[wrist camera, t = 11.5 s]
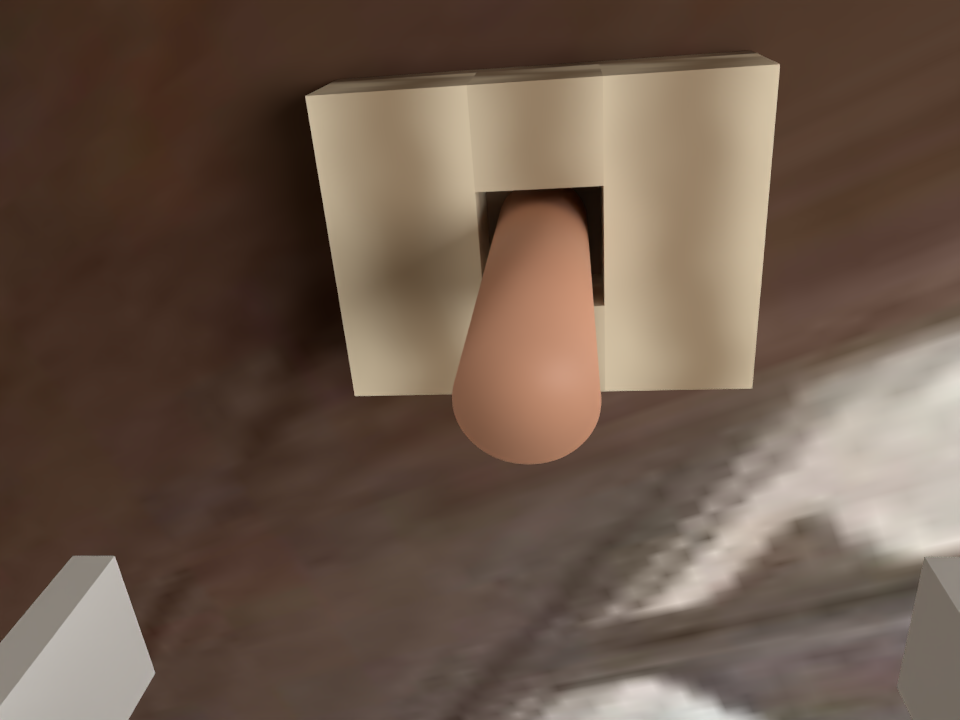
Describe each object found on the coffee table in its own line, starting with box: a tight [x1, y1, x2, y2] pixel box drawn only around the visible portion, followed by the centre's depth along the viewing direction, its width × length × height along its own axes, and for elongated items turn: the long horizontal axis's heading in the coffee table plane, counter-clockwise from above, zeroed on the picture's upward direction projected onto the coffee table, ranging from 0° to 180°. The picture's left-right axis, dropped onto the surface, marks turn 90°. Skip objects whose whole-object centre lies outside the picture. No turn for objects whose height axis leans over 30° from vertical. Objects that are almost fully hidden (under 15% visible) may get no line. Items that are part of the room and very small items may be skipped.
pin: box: [452, 188, 601, 464], centre depth 26 cm, size 4×4×15 cm
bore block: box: [305, 51, 780, 396], centre depth 31 cm, size 16×12×4 cm
